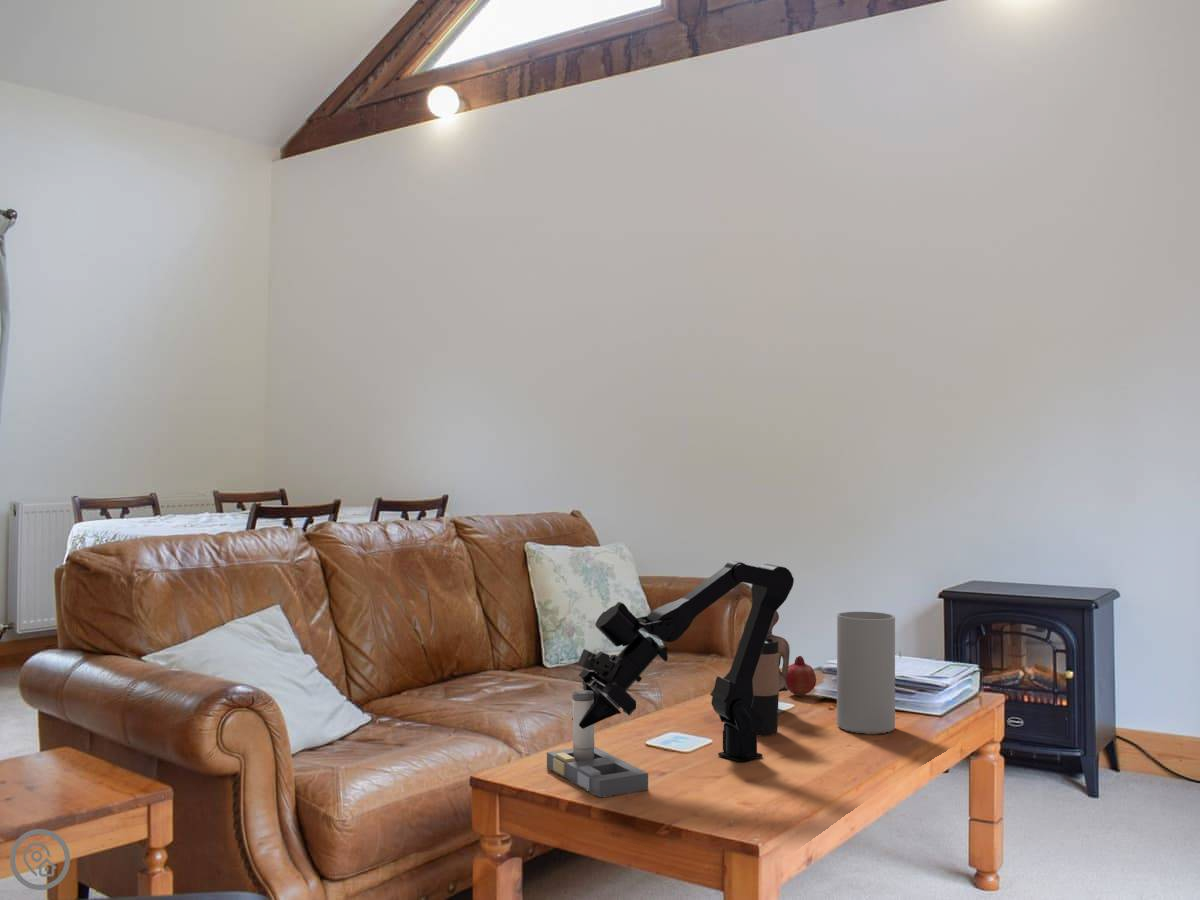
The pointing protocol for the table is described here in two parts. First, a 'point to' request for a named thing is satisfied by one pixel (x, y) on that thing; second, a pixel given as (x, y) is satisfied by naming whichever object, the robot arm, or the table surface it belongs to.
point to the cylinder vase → (866, 672)
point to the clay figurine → (780, 653)
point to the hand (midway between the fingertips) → (577, 724)
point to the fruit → (800, 677)
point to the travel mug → (767, 688)
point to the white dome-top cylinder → (581, 737)
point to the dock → (598, 772)
